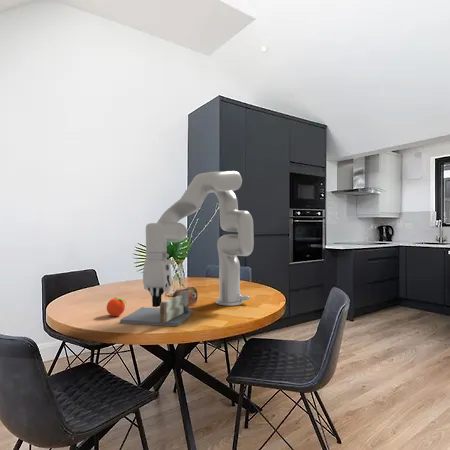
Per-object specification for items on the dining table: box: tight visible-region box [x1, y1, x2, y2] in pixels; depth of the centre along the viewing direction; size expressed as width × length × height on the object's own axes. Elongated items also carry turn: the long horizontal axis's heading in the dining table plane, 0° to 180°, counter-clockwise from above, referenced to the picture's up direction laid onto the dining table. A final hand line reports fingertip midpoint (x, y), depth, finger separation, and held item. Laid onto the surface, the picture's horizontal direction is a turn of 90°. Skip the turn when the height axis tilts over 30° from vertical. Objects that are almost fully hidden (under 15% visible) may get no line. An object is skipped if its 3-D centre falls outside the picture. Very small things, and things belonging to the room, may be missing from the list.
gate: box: [159, 295, 184, 323], centre depth 122 cm, size 15×2×7 cm, turn 160°
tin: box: [172, 286, 198, 308], centre depth 146 cm, size 15×3×8 cm, turn 148°
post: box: [181, 291, 189, 314], centre depth 131 cm, size 3×3×10 cm
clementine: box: [106, 297, 127, 317], centre depth 131 cm, size 8×7×7 cm
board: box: [119, 306, 194, 327], centre depth 128 cm, size 22×19×1 cm
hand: (156, 306), depth 123 cm, fingers closed
